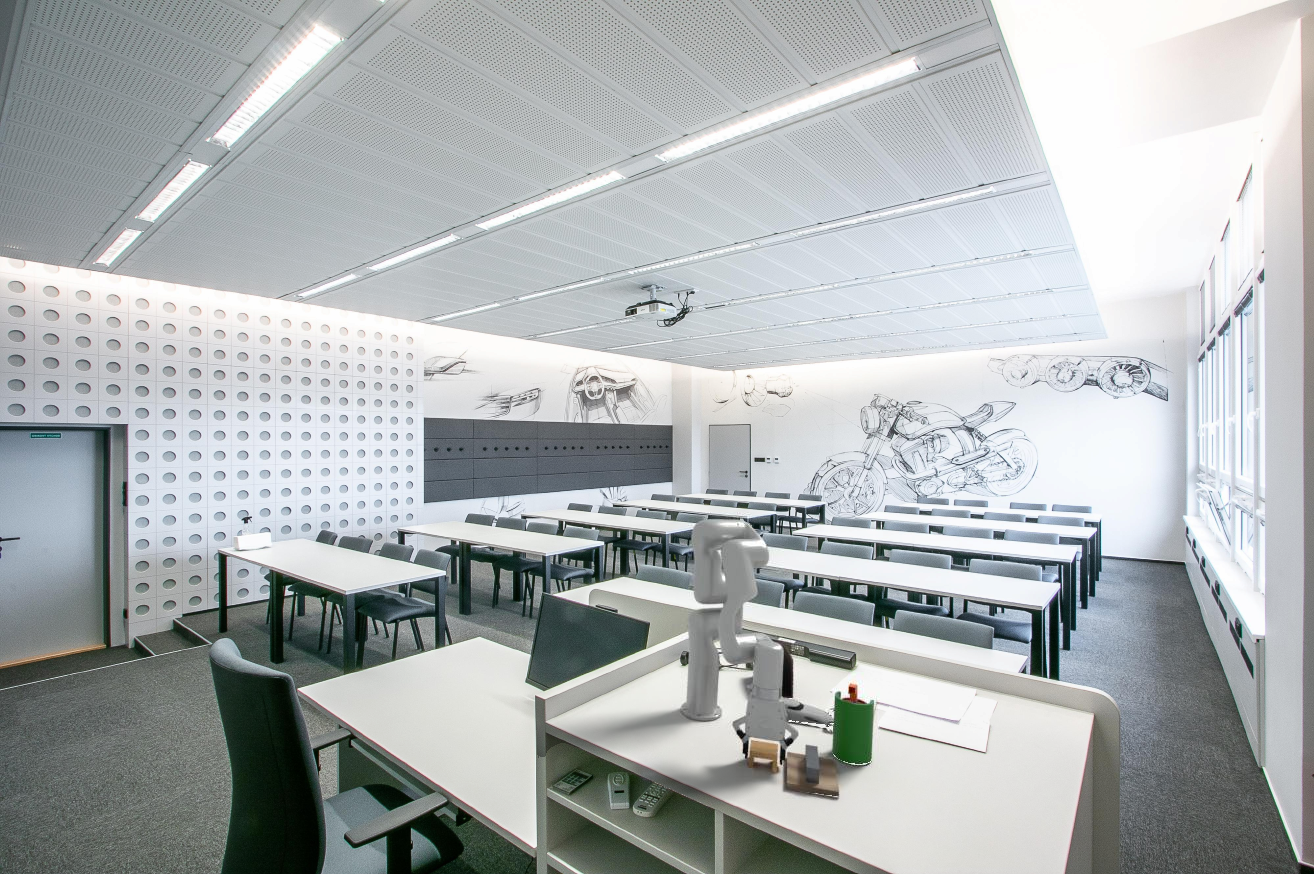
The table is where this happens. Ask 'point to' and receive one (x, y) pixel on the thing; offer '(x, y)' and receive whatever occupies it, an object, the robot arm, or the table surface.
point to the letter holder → (787, 673)
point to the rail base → (798, 775)
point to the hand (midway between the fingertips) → (763, 759)
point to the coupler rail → (812, 764)
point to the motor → (852, 728)
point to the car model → (806, 713)
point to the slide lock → (763, 753)
